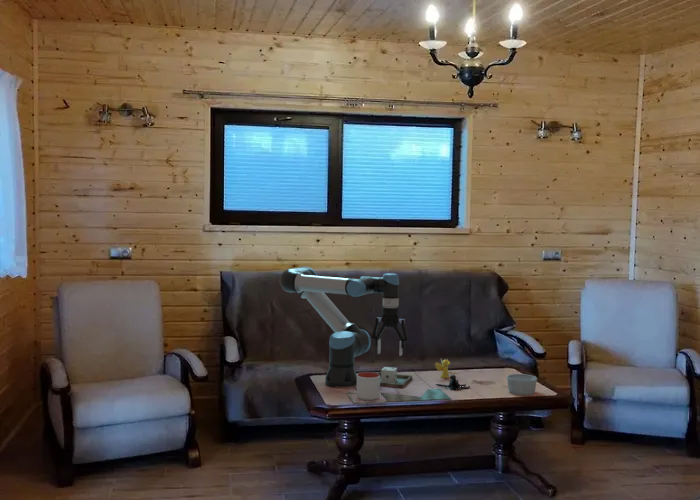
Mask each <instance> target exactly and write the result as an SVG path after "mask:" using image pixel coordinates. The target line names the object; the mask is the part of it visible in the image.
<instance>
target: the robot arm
mask: <svg viewBox="0 0 700 500" xmlns="http://www.w3.org/2000/svg"><path fill="white" fill-rule="evenodd" d="M278 281H279V285H280V287H281V289H282V290H283V291H284V292H286V293H292V294H293V293H297V295H299V297H300V298H301V299H306V300H307V302H308V303H309V304H310V305H311V306H312V307H313V308H314V310H315V311H316V312H317V313H318V314H319V316H320V317H321V318H322V319H323V321H324V322H325V323H326V324H327V325H328V326H329V327H330V328H331V330H332V331H333V332H332V334H330V336H329V341H328V347H329V348H328V349H329V350H328V352H329V354H328V359H329V361H328V363H329V364H328V365H329V366H328V368H327V369H328V370H327V372H326V375H325V378H324V379H325V380H324V383H325V384H324V385H326V386H329V387H332V388H347V387H348V388H349V387H354V386H357V372H356V371H357V370H356V369H355V358H356V357H359V356H362V355H364V354H365V353H367V352H369V350H370V348H371V344H372V339H374V340H375V346H376V347H377V352H376V353H377V355H380V354H382V353H381V352H382V351H381V349H382V348H381V347H382V345H381V344H382V343H381V341H382V339H381V338H380V337H382V336H381V335H382V334H383V333H384V330H385V329H386V328H394V331H395V332H396V334H397V336H398V337H399V339H400V341H399V345H398V346H399V351H398V352H399V353H398V355H399V356H400V357H401V356H402V355H403V349H405V346H406V345H405V342H406V341H409V339H410V338H409V333H408V330H407V327H406V318H400V317H399V314H400V313H399V312H400V311H399V302H400V296H399V293H400V292H399V291H400V277H399V274H397V273H394V272H393V273H388V272H387V273H384V274H382V276H381V277H380V276H369V275H367V276H364V275H363V276H360V278H349V277H347V278H346V277H333V276H322V275H321V276H320V275H318V274H317V273H316V271H315V270H314V269H313V268H311V267H309V266H299V267H295V268H288V269H286V270H284V271H283V272H282V273H281V275H280V276H279V280H278ZM327 294H335V295H346V296H347V295H349V296H351V297H361V296H366V295H369V294H382V308H381V309H382V310H381V313H382V314H381V315H382V316H381V317H378V316H377V317H376V318H375V324H374V327H373V331H372V335H371V336H370V334H369V332H368V331H366V330H365V329H361V328H359V327H358V326H357V324H356V323H352V322H350V321H349V320H348V319H347V318H346V316H345V315H344V314H343V313H342V312H341V311H340V309H338V307H337V306H336V305H335V304H334V302H333V301H332V300H331V299H330V298H329V297H328V295H327ZM381 322H382V323H383V324H382V325H381V327H380V330H379V326H380V323H381ZM398 323H399V324H400V326H401V329H402V330H401V329H400V326H399V325H398ZM378 330H379V332H378ZM371 338H372V339H371Z"/></svg>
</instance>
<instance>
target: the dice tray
mask: <svg viewBox="0 0 700 500" xmlns="http://www.w3.org/2000/svg"><path fill="white" fill-rule="evenodd" d="M375 373H377V374H379V375H380V387H387V388H395V389H396V388H399V389H404V387H406V386H407V385H408V384H409V383H410V382H411V381H412V380H413V375H411V374H410V375H409V374H398V373H397V381H396V382H395V383H385V382H381V372H377V371H376V372H375Z"/></svg>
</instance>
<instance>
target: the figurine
mask: <svg viewBox="0 0 700 500" xmlns="http://www.w3.org/2000/svg"><path fill="white" fill-rule="evenodd" d="M440 362H441V363H439V362H434V363H435V369H436V370H437V371H439V372H441V375H440V378H441V379H449V378H450V376H449V375H450V374H451V375H460V373H457V372H451V371H449V366H451V362H450V360H448V359H443V360H442V358H440Z"/></svg>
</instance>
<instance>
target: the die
mask: <svg viewBox="0 0 700 500" xmlns="http://www.w3.org/2000/svg"><path fill="white" fill-rule="evenodd" d="M380 373H381V382H385V383H395V382H396V381H397V374H398V367H390V366H384V367H382V369H381V370H380Z"/></svg>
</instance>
